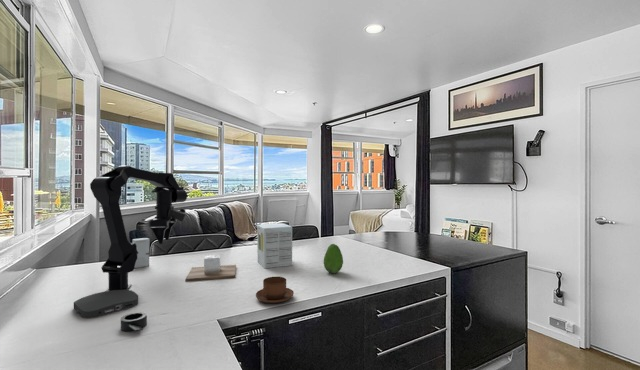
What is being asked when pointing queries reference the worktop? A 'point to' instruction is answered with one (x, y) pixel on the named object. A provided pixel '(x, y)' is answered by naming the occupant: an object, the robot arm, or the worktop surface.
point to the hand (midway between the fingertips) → (164, 241)
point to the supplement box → (274, 245)
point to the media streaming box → (105, 303)
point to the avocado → (333, 259)
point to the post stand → (198, 273)
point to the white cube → (212, 264)
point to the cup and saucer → (274, 290)
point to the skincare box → (142, 252)
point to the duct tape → (133, 321)
